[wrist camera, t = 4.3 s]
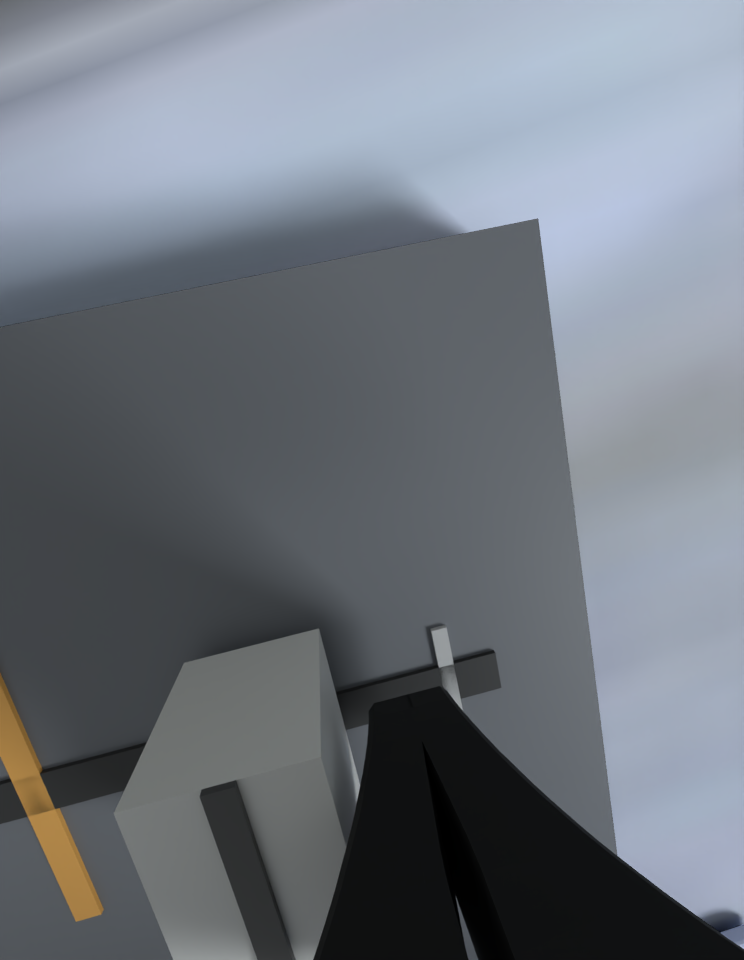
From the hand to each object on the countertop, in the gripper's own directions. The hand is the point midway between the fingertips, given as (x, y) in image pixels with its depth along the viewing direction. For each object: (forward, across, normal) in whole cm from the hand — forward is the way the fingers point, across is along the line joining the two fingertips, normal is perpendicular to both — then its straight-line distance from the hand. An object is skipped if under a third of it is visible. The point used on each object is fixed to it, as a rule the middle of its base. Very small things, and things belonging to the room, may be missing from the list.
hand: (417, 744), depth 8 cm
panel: (+3, +4, 0) cm, 5 cm away
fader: (+1, +2, 0) cm, 3 cm away
